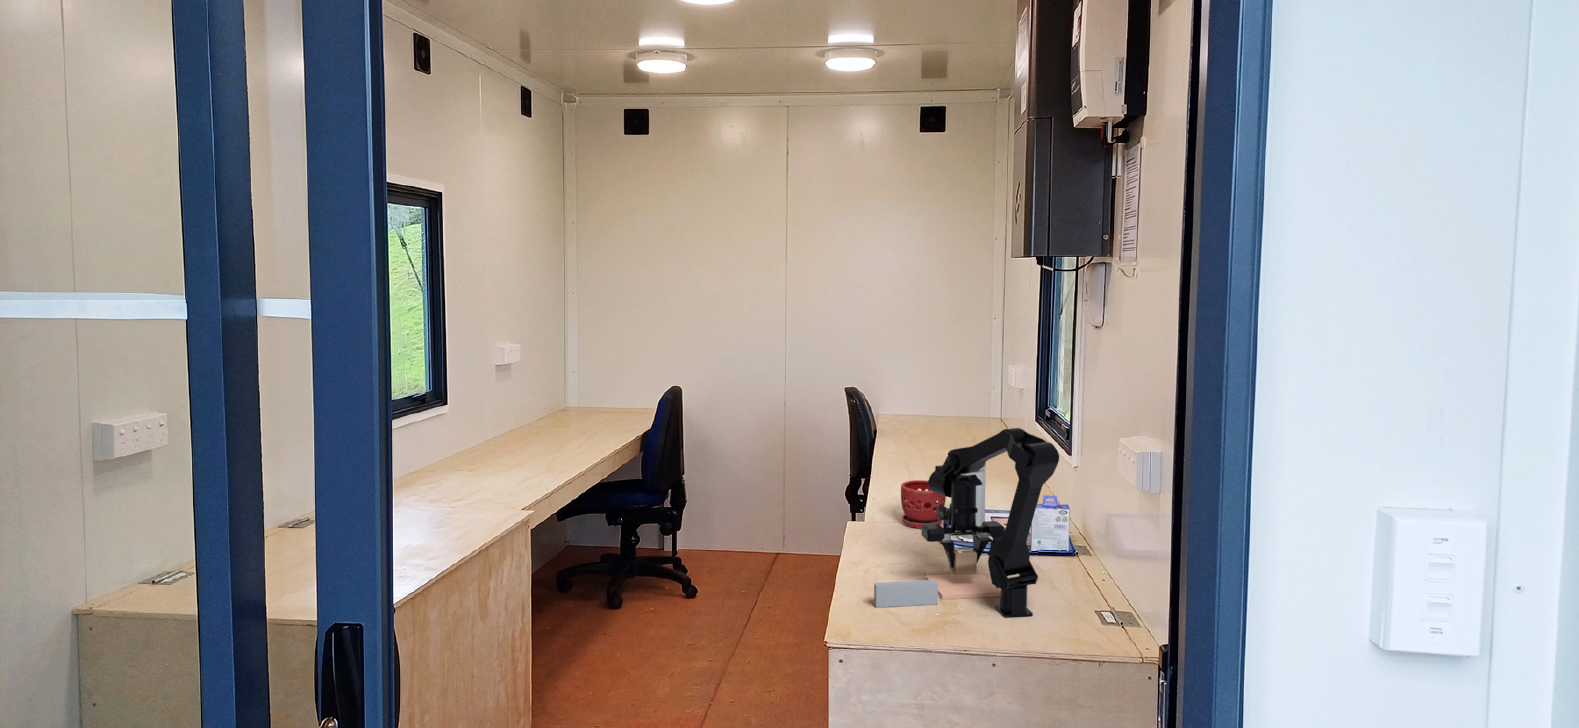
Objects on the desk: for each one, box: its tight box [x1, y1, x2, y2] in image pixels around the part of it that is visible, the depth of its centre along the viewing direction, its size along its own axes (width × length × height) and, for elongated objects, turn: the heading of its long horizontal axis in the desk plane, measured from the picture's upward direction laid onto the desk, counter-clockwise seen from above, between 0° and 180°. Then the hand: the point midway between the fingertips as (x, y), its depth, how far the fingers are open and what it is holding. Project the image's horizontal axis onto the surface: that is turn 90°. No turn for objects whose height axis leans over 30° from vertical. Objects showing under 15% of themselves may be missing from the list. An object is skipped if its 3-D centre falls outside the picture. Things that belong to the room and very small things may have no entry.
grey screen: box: [873, 579, 939, 609], centre depth 214 cm, size 2×14×5 cm, turn 98°
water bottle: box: [958, 464, 987, 539], centre depth 264 cm, size 9×8×25 cm
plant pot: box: [900, 479, 947, 529], centre depth 280 cm, size 13×13×12 cm
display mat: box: [924, 572, 1000, 600], centre depth 225 cm, size 14×14×1 cm
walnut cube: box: [948, 546, 978, 575], centre depth 225 cm, size 5×5×5 cm
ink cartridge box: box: [1030, 494, 1071, 552], centre depth 254 cm, size 10×6×14 cm, turn 78°
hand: (962, 567), depth 225 cm, fingers closed on walnut cube, 5 cm apart
